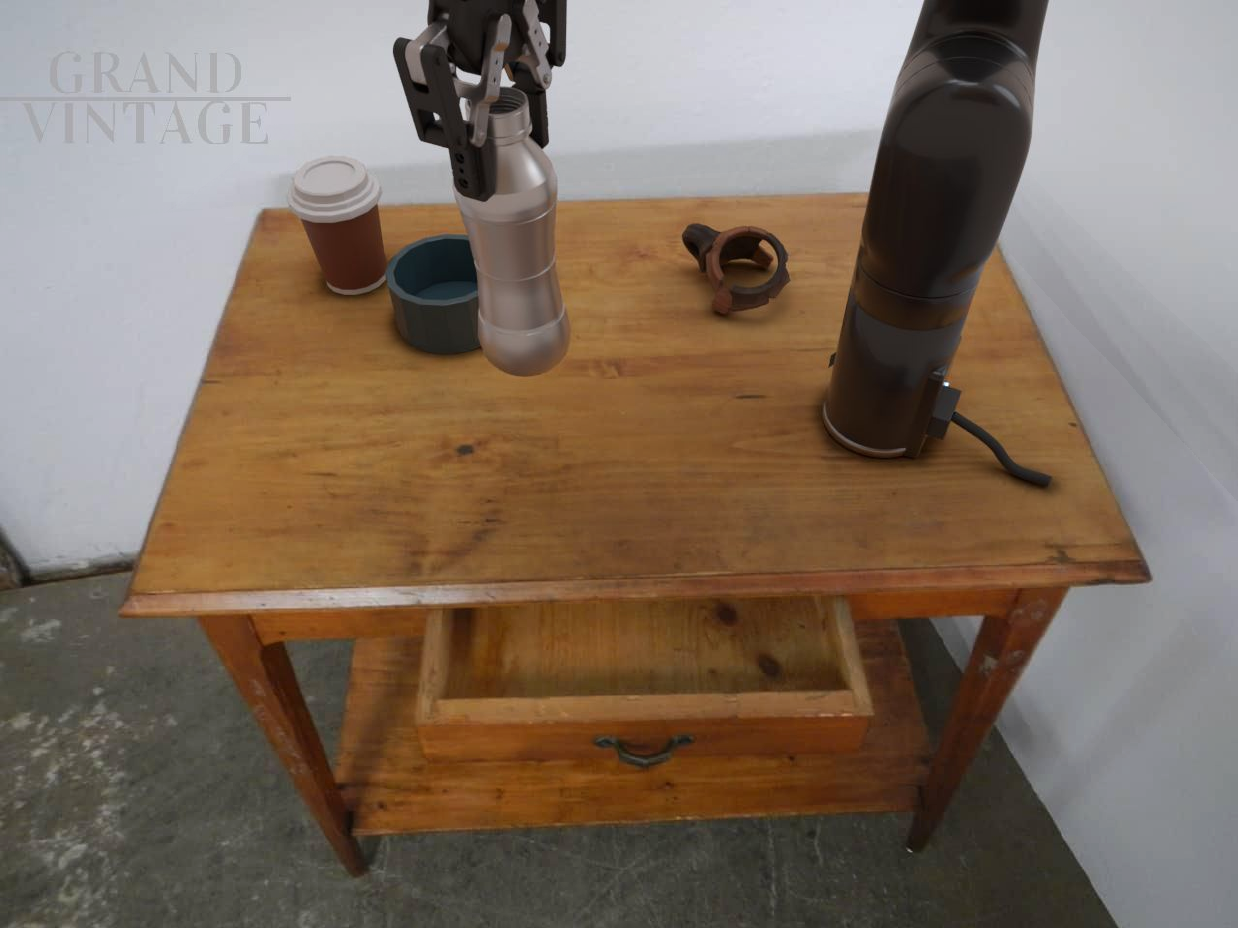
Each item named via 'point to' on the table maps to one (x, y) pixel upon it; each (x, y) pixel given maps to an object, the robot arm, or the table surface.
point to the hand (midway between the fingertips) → (505, 169)
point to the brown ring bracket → (731, 246)
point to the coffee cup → (341, 221)
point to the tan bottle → (517, 247)
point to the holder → (436, 294)
